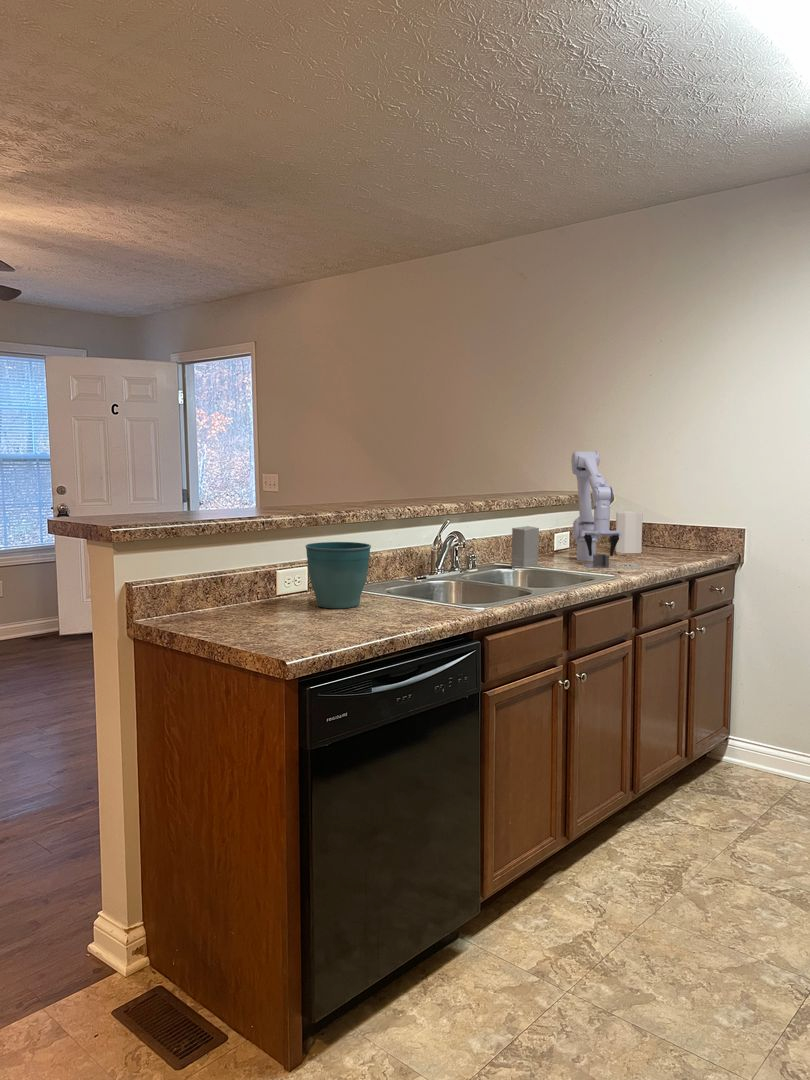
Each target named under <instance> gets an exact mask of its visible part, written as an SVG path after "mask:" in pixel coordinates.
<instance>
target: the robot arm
mask: <svg viewBox="0 0 810 1080" xmlns="http://www.w3.org/2000/svg"><path fill="white" fill-rule="evenodd" d="M600 459H601V457H600V453H599V452H598V451H596V450H595V451H580V450H579V451H576V450H574V452H572V454H571V471H572V474H574V475H575V476H576V482H577V495H578V508H579V510H578V511H579V516H578V517H577V518H576V519H574V520H573V523H572V536H573V539H574V541H576V560H577V561H582V562H593V554H597V553H596V551H597V549H596V548H597V547H596V546H597V542H598V540H599V539H600V538H601V537H610V549H609V557H613V556H614V553H615V549H616V544H617V542H618V540H619V537H622V531H616V530H610V527H611V525H610V524H611V523H610V522H611V521H610V519H611V518H610V517H611V502H612V501H613V500H614V499H613V498H614V490H613V487H612V485H609V484H608V483H607V480H606V478H605V476H604V474H603V473H600V469H599V464H600ZM591 490H592V492H591ZM591 493H592V494H591ZM592 508H593V510H592Z"/></svg>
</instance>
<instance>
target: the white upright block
mask: <svg viewBox="0 0 810 1080" xmlns="http://www.w3.org/2000/svg"><path fill="white" fill-rule="evenodd" d="M615 513H616V514H615V516H616V518H615V531H622V537H619V540H618V542H617V544H616V546H615V549H614V552H615V551H616V552H621V553H641V552H642V548H643V547H642V544H643V517H644V515H643V512H642V511H635V510H631V511H628V510H627V511H625V510H623V511H622V510H621V511H616V512H615ZM642 553H643V552H642Z"/></svg>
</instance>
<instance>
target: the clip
mask: <svg viewBox="0 0 810 1080" xmlns="http://www.w3.org/2000/svg"><path fill="white" fill-rule="evenodd" d="M592 563H593V565H594V566H597V567H598V565H604V566H605V567H609V563H610V554H607V553H596V554H593V561H592Z"/></svg>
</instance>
